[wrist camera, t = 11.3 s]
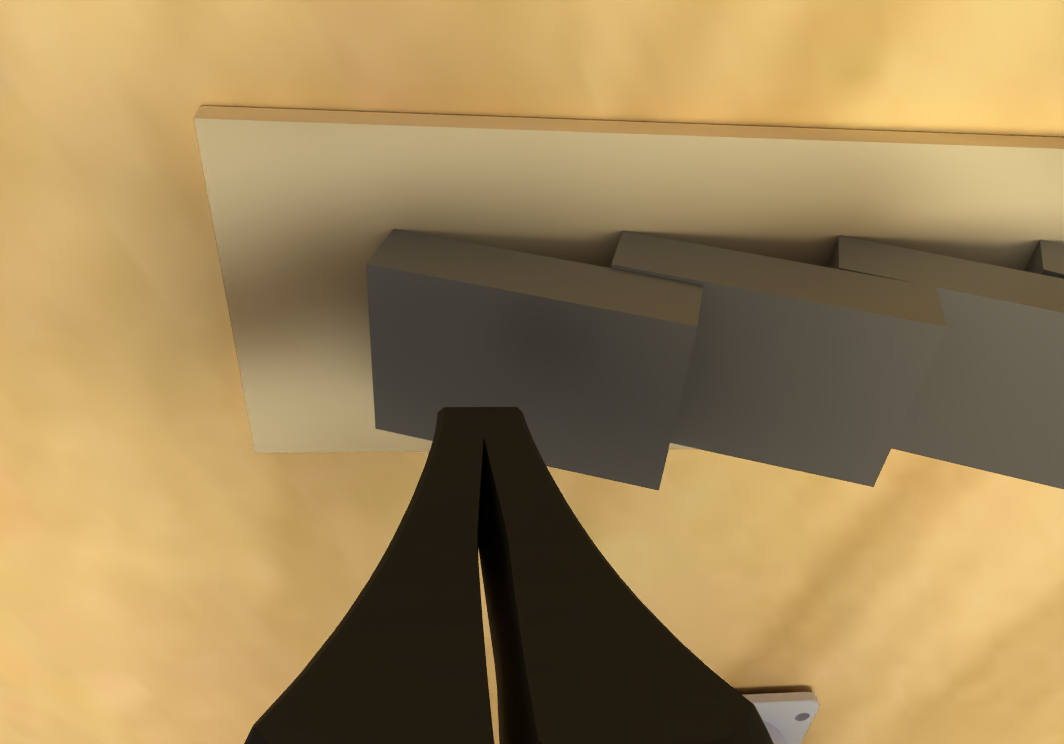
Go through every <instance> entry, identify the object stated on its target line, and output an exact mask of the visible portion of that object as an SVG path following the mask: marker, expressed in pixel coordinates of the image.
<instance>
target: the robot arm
mask: <svg viewBox="0 0 1064 744" xmlns="http://www.w3.org/2000/svg"><path fill="white" fill-rule="evenodd" d="M478 548H479V554H480V561H481V568H482V576H483V583H484V590H485V597H486V605H487V612H488V619H489V626H490V633H491V640H492V647H493V655H494V662H495V671H496V682H497V696H498V719H499V741H500V744H800V743H801V741H802V739H803V737H804V735H805V734H806V732H807V730H808V728H809V726H810V724H811V722H812V720H813V718H814V716H815V715H816V713H817V711H818V709H819V706H820V704H819V701H818V699H817V696H816V695H815V694H813V693H811V692H789V693H766V694H743V695H742V694H740V693H739V692H738V691H737V690H735V689H734V688H733V687H731V686H730V685H729V684H728V683H726V682H725V681H724V680H723V679H722V678H720V677H719V676H718V675H717V674H716V673H714V672H713V671H712V670H711V669H710V668H709V667H707V666H706V665H705V664H704V663H703V662H702V661H701V660H700V659H699V658H697V657H696V656H695V655H694V654H693V653H692V652H691V651H690V650H689V649H688V648H687V647H685V646H684V645H683V644H682V643H681V642H680V641H679V640H678V639H677V638H676V637H675V636H674V635H673V634H672V633H671V632H670V631H669V630H668V629H667V628H666V627H665V626H664V625H663V624H662V623H661V622H660V621H659V620H658V619H657V618H656V616H655V615H654V614H653V613H652V612H651V611H650V610H649V609H648V608H647V607H646V606H645V605H644V604H643V603H642V602H641V601H640V600H639V599H638V598H637V596H636V595H635V594H634V593H633V592H632V591H631V589H630V588H629V587H628V586H627V585H626V584H625V582H624V581H623V580H622V579H621V578H620V577H619V575H618V574H617V573H616V571H615V570H614V569H613V568H612V566H611V565H610V564H609V563H608V561H607V560H606V559H605V558H604V556H603V555H602V554H601V552H600V551H599V550H598V548H597V547H596V545H595V544H594V543H593V541H592V540H591V538H590V537H589V536H588V534H587V533H586V531H585V530H584V528H583V527H582V525H581V524H580V522H579V521H578V519H577V518H576V516H575V515H574V513H573V512H572V510H571V508H570V507H569V505H568V504H567V502H566V500H565V499H564V497H563V495H562V493H561V492H560V490H559V488H558V486H557V485H556V483H555V481H554V480H553V478H552V476H551V474H550V472H549V471H548V469H547V467H546V465H545V463H544V461H543V459H542V457H541V455H540V453H539V451H538V449H537V447H536V445H535V442H534V440H533V438H532V436H531V433H530V431H529V428H528V426H527V423H526V421H525V418H524V414H523V412H522V411H521V410H520V409H519V408H518V407H444V408H442V409H441V410H440V411H439V412H437V423H436V428H435V433H434V438H433V442H432V445H431V449H430V452H429V455H428V458H427V461H426V464H425V467H424V469H423V472H422V475H421V477H420V480H419V482H418V485H417V487H416V490H415V492H414V495H413V497H412V500H411V502H410V504H409V506H408V508H407V510H406V512H405V514H404V516H403V519H402V521H401V523H400V525H399V527H398V529H397V531H396V533H395V535H394V537H393V539H392V541H391V543H390V545H389V546H388V548H387V550H386V552H385V554H384V555H383V557H382V559H381V561H380V562H379V564H378V566H377V567H376V569H375V571H374V572H373V574H372V576H371V577H370V579H369V581H368V582H367V584H366V585H365V587H364V588H363V590H362V591H361V593H360V595H359V596H358V598H357V599H356V601H355V602H354V604H353V605H352V607H351V608H350V610H349V611H348V613H347V614H346V615H345V617H344V618H343V620H342V621H341V622H340V624H339V625H338V626H337V628H336V629H335V631H334V632H333V633H332V634H331V636H330V637H329V638H328V639H327V641H326V642H325V643H324V645H323V646H322V647H321V648H320V650H319V651H318V652H317V653H316V655H315V656H314V657H313V658H312V660H311V661H310V662H309V663H308V665H307V666H306V667H305V669H304V670H303V671H302V672H301V673H300V674H299V676H298V677H297V678H296V679H295V680H294V681H293V683H292V684H291V685H290V686H289V687H288V688H287V689H286V690H285V691H284V692H283V693H282V695H281V696H280V697H279V698H278V699H277V700H276V701H275V702H274V703H273V704H272V705H271V707H270V708H269V709H268V710H267V711H266V712H265V713H264V714H263V715H262V716H261V717H260V718H259V720H258V721H257V722H256V723H255V724H254V725H253V727H252V729H251V731H250V733H249V735H248V737H247V739H246V741H245V743H244V744H494V738H493V729H492V719H491V709H490V699H489V689H488V679H487V667H486V656H485V644H484V632H483V620H482V606H481V593H480V579H479V564H478Z"/></svg>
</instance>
